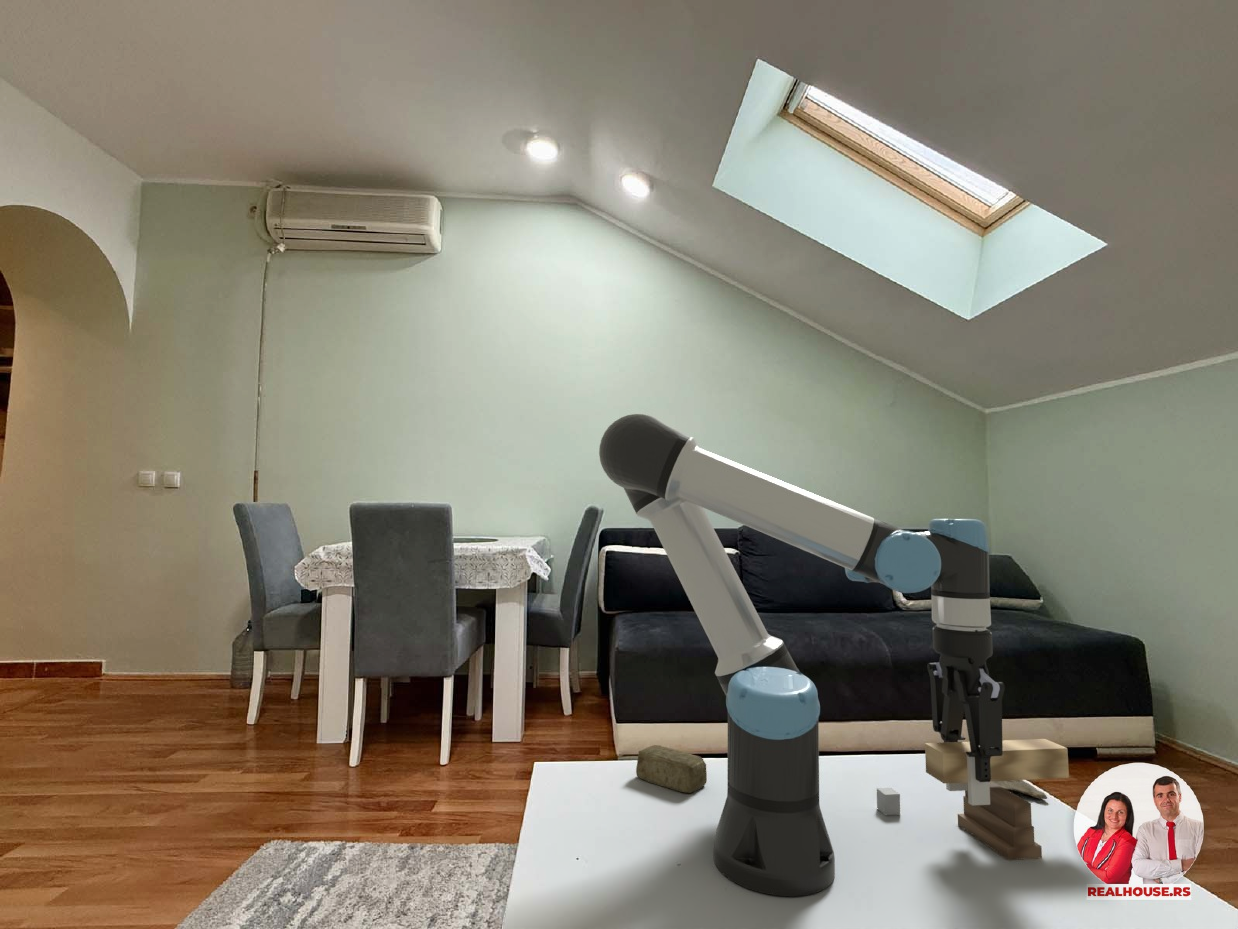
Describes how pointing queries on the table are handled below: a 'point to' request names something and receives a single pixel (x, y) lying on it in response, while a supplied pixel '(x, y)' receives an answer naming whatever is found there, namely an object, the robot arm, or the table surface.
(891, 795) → the gray blocks
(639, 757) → the stone block
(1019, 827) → the stepped block
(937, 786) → the table surface
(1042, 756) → the brass bar
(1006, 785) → the stone tool
